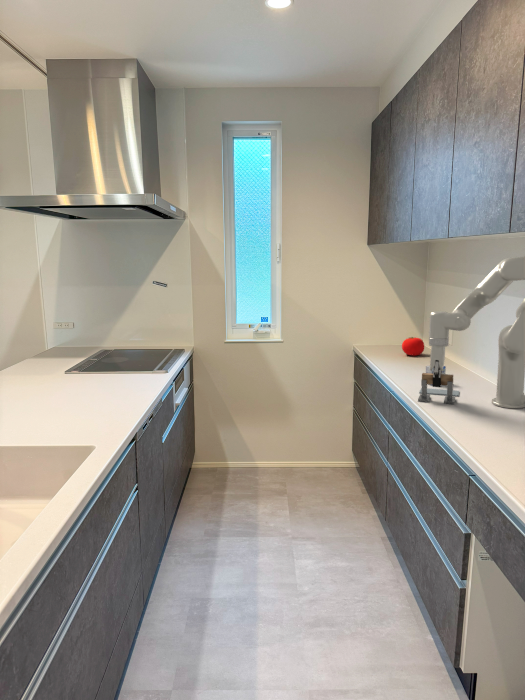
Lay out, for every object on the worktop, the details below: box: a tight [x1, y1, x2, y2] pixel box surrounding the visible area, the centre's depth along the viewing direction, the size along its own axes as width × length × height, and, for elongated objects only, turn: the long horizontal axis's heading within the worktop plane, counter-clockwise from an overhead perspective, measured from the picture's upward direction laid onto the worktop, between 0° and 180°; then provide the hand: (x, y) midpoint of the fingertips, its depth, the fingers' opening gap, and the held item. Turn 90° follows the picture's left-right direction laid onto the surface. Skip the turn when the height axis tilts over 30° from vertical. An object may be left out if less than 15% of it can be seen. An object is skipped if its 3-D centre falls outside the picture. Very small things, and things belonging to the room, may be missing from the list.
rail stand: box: [417, 378, 456, 405], centre depth 198 cm, size 14×8×9 cm, turn 66°
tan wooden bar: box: [421, 372, 454, 387], centre depth 197 cm, size 12×3×4 cm, turn 66°
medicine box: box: [425, 365, 447, 386], centre depth 225 cm, size 8×4×9 cm, turn 105°
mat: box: [418, 387, 460, 397], centre depth 210 cm, size 16×8×1 cm, turn 66°
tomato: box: [401, 336, 425, 357], centre depth 295 cm, size 12×14×11 cm
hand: (437, 384), depth 198 cm, fingers open, 5 cm apart
